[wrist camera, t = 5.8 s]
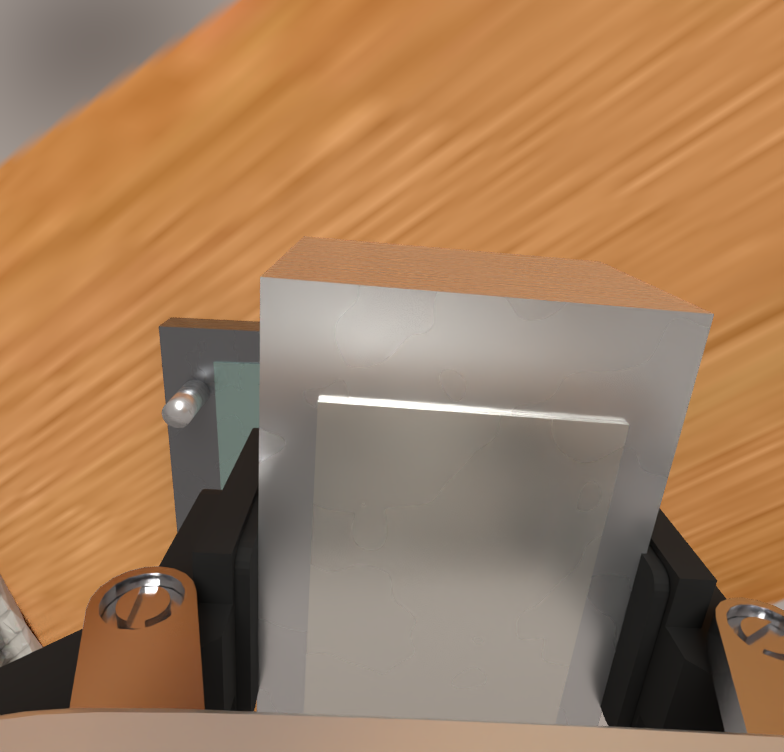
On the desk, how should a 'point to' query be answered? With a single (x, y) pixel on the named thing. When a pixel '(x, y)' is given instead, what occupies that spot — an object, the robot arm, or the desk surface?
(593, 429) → the block
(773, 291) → the desk surface
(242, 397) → the tray
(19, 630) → the packaged product
